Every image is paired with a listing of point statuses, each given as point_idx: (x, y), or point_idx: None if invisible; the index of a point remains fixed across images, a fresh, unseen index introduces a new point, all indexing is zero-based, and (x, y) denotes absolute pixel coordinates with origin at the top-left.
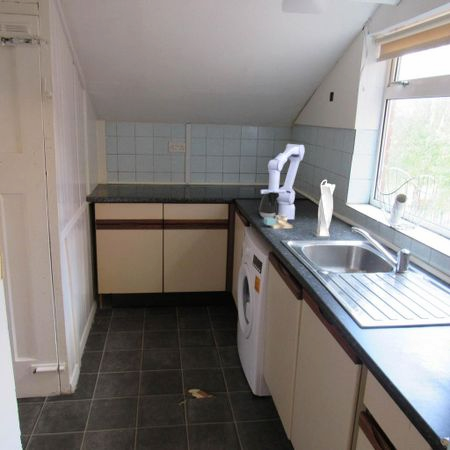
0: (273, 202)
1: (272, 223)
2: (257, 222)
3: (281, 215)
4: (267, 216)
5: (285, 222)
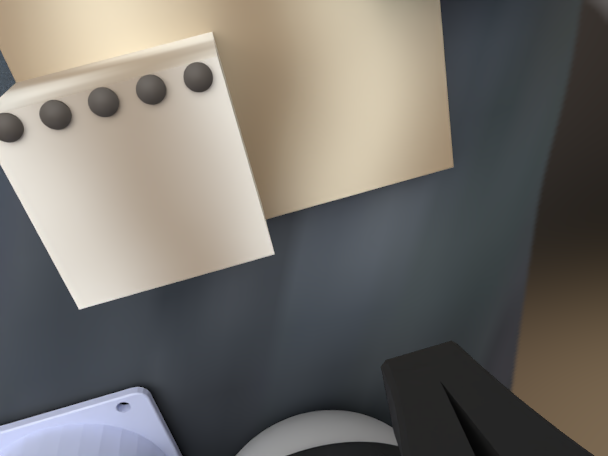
0: (494, 443)
1: None
2: (533, 169)
3: (135, 250)
4: (339, 414)
5: (53, 51)
